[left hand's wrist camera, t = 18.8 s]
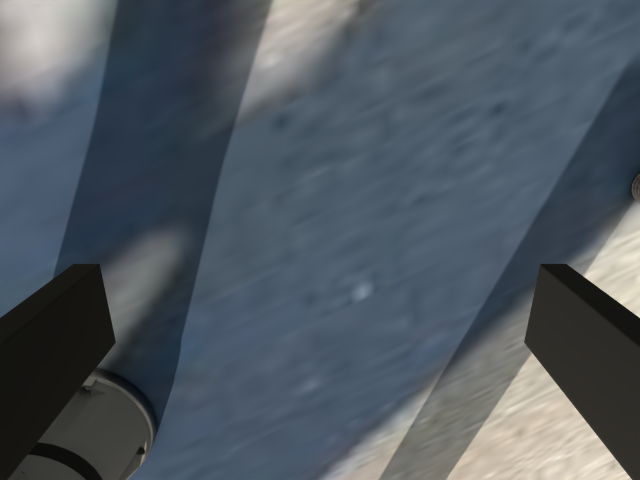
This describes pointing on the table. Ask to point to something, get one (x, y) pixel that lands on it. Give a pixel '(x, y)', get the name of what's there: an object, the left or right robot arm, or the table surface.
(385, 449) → the table surface
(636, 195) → the light bulb
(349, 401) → the table surface
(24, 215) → the table surface
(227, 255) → the table surface
